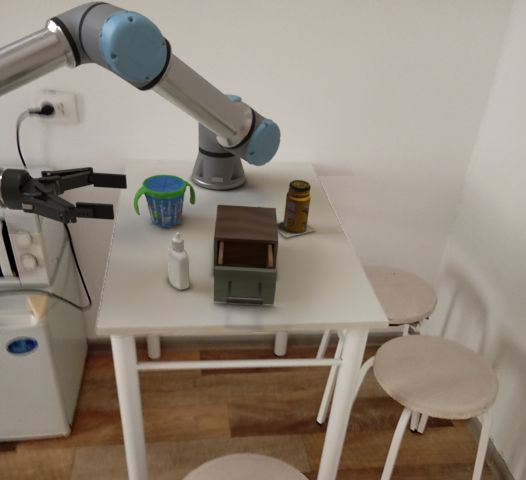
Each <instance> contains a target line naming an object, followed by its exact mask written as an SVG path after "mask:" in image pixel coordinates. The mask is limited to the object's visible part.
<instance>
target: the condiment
mask: <svg viewBox="0 0 526 480" xmlns="http://www.w3.org/2000/svg"><path fill="white" fill-rule="evenodd" d="M311 197H312V196H311V184H310V183H309V182H308V181H306V180H303V179H302V180H301V179H294V180H291V181H290V182H289V185H288V191H287V193H286V197H285V204H284V205H285V206H284V214H283V215H284V216H283V221H281V222H280V221H279V222H277V230H278V234H281V236H283V237H284V238H291V237H295V236H299V235H300V236H301V235H303V234H309V233H311V232H314V230H313V229H312V228H311V227H308V222H309V220H308V219H309V213H310V204H311Z"/></svg>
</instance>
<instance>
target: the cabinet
mask: <svg viewBox="0 0 526 480" xmlns="http://www.w3.org/2000/svg"><path fill="white" fill-rule="evenodd" d="M277 223H278V219H277V208H276V207H265V206H264V207H263V206H248V205H231V204H217V205H216V215H215V225H214V232H213V233H214V234H213V235H214V236H213V277H214V266H218V261H219V249H220V241H236V242H254V243H272V256H273V269H277V258H278V248H279V232H278V230H277Z"/></svg>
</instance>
